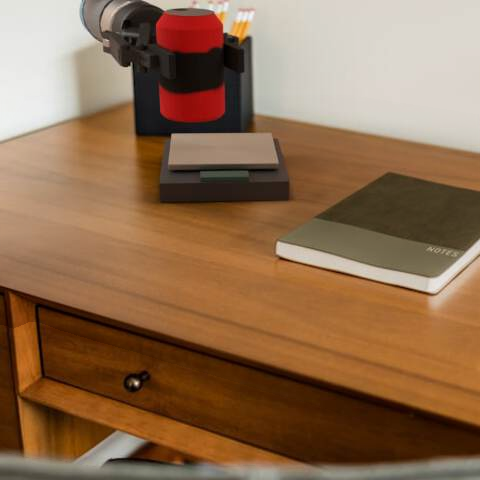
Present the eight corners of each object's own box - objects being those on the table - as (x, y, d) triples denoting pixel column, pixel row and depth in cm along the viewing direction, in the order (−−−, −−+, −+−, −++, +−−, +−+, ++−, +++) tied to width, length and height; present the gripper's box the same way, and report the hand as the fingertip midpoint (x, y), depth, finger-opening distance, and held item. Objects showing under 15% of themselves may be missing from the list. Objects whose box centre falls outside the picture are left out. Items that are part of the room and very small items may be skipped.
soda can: (200, 103, 112) (197, 5, 107) (237, 116, 107) (236, 13, 103) (148, 112, 107) (142, 10, 102) (184, 126, 102) (180, 19, 98)
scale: (160, 202, 111) (158, 178, 110) (165, 156, 129) (164, 135, 127) (289, 199, 114) (289, 176, 113) (277, 154, 131) (277, 134, 130)
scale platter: (168, 170, 114) (168, 164, 114) (171, 138, 127) (171, 133, 126) (278, 168, 116) (278, 162, 116) (271, 138, 129) (271, 132, 129)
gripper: (211, 53, 125) (288, 88, 107) (62, 64, 115) (120, 106, 97) (210, -3, 122) (288, 24, 104) (57, 4, 112) (115, 36, 94)
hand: (207, 63), depth 101 cm, fingers closed on soda can, 8 cm apart
